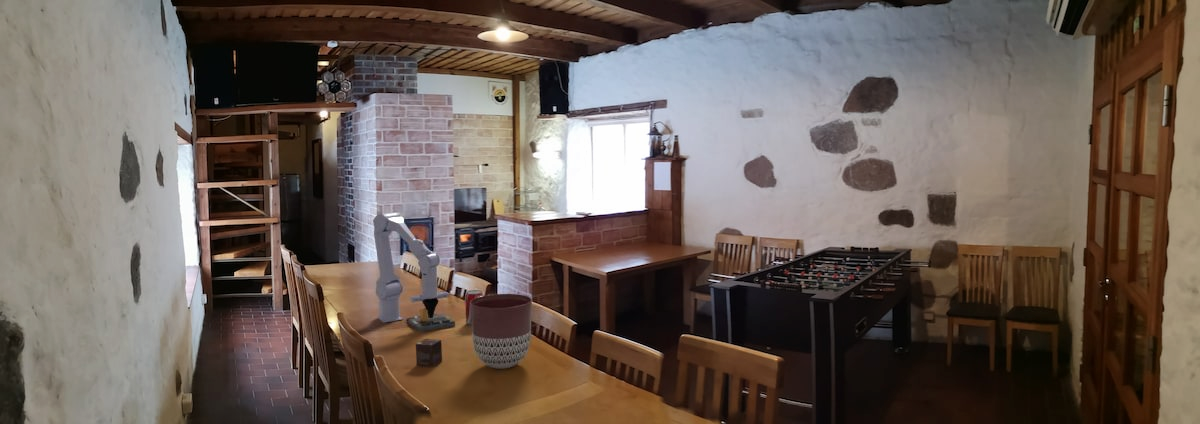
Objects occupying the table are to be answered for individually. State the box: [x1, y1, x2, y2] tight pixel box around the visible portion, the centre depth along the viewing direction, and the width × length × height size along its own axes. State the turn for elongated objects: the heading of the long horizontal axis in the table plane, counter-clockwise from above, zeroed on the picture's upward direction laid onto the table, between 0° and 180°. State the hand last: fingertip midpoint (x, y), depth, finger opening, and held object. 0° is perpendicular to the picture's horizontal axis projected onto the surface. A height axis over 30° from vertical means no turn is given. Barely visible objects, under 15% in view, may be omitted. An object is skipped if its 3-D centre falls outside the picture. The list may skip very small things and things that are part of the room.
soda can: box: [464, 289, 484, 326], centre depth 252 cm, size 7×7×13 cm
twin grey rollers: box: [406, 313, 438, 323], centre depth 258 cm, size 4×13×2 cm, turn 124°
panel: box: [407, 313, 456, 333], centre depth 251 cm, size 14×14×3 cm
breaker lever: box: [419, 307, 428, 321], centre depth 249 cm, size 3×2×4 cm, turn 34°
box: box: [415, 338, 443, 368], centre depth 205 cm, size 6×6×7 cm
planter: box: [470, 293, 533, 370], centre depth 202 cm, size 20×20×21 cm
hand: (430, 317), depth 250 cm, fingers closed
